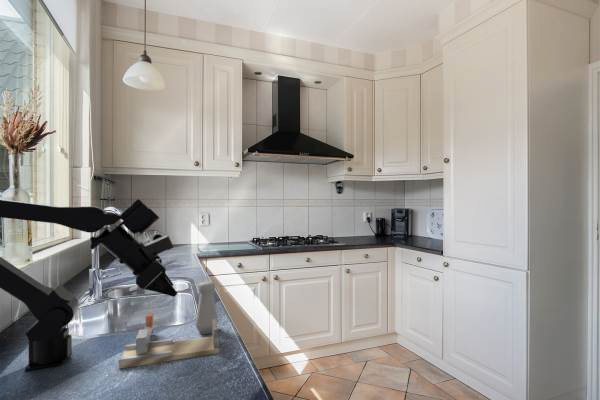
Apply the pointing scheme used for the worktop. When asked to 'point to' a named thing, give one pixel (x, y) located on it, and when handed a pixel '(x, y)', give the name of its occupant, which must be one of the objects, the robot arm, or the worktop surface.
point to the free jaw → (145, 335)
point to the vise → (171, 350)
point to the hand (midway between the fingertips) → (173, 290)
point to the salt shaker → (206, 308)
